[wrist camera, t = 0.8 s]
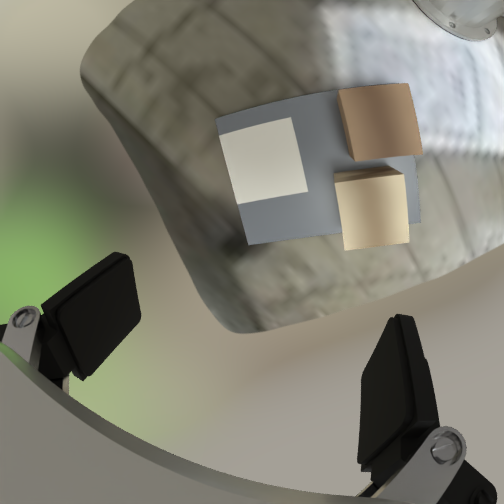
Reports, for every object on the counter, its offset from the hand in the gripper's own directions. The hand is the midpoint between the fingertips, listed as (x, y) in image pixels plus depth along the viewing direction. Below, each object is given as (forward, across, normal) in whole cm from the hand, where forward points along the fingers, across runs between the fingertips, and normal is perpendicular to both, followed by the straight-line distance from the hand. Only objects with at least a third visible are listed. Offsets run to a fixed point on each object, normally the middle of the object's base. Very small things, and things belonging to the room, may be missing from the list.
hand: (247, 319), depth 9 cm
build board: (+22, -1, -3) cm, 22 cm away
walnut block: (+22, -6, -8) cm, 24 cm away
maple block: (+22, -6, 0) cm, 23 cm away
